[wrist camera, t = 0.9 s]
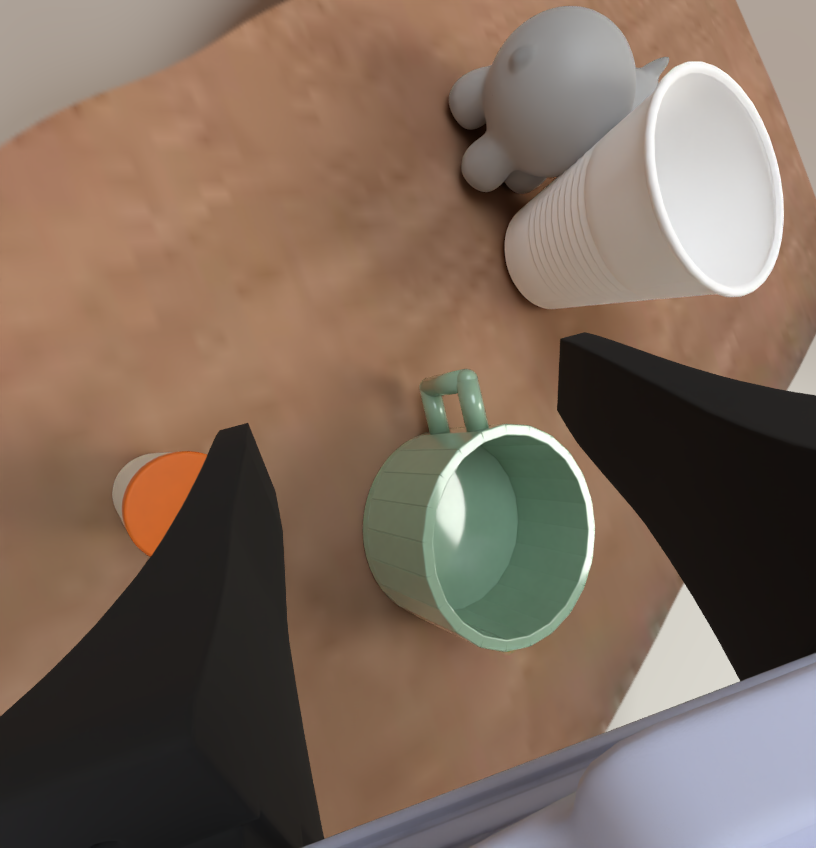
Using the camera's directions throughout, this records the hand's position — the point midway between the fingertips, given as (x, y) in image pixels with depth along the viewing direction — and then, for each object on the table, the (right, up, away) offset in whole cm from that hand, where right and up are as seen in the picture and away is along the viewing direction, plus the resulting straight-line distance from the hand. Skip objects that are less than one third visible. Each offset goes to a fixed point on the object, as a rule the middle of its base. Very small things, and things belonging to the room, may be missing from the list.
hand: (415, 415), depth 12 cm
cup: (+8, +10, +20) cm, 24 cm away
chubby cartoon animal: (+7, +16, +20) cm, 27 cm away
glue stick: (-10, -3, +9) cm, 14 cm away
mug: (+2, -4, +16) cm, 16 cm away
